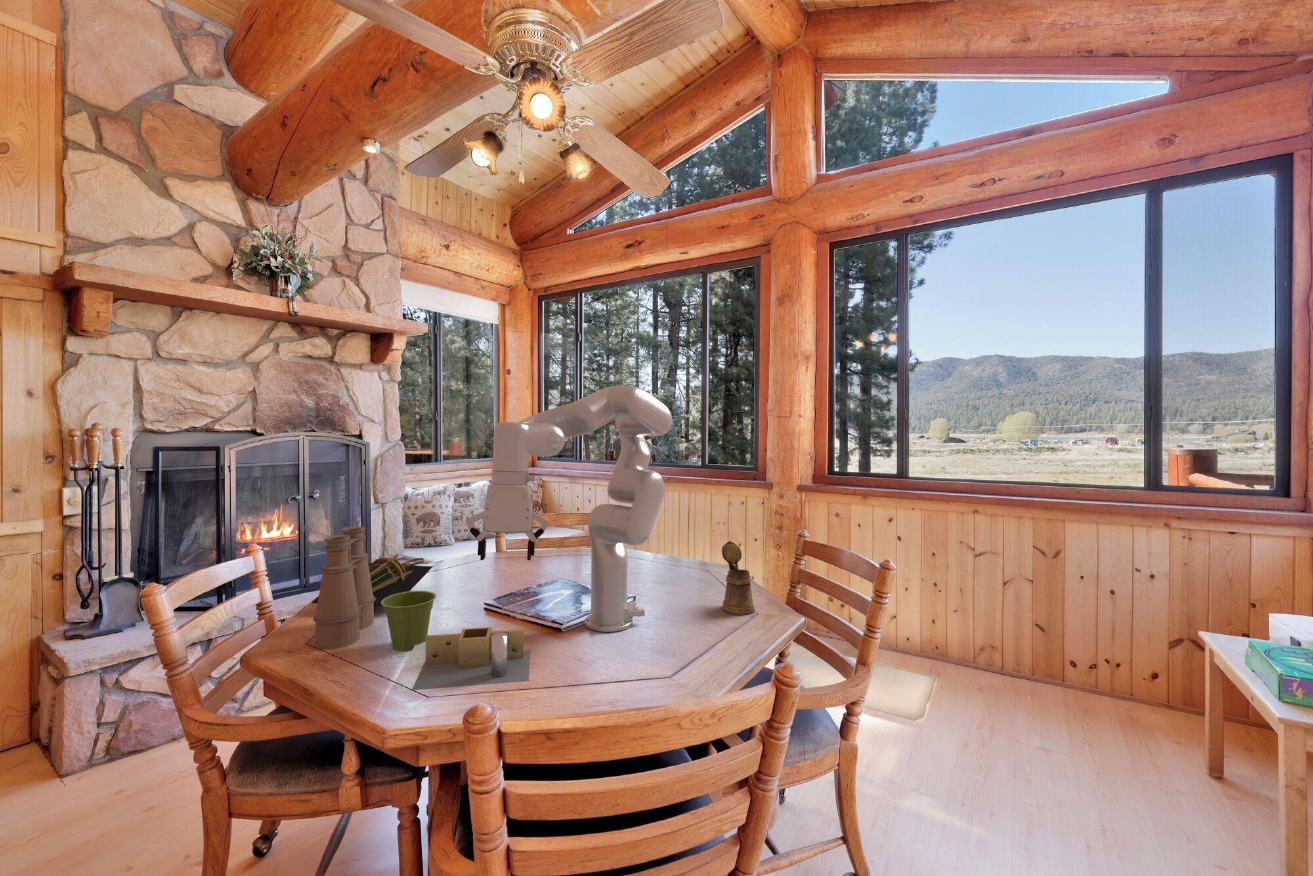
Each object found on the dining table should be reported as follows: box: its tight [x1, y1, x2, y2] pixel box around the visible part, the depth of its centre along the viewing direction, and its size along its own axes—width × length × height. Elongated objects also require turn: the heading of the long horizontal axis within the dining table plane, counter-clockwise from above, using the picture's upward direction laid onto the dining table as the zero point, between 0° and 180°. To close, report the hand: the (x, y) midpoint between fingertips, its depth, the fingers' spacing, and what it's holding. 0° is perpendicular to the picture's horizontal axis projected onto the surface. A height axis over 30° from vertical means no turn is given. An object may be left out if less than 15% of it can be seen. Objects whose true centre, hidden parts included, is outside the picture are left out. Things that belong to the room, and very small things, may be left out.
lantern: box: [310, 553, 434, 607], centre depth 164 cm, size 14×23×30 cm
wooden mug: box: [721, 540, 755, 616], centre depth 160 cm, size 9×14×18 cm, turn 11°
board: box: [411, 649, 531, 691], centre depth 116 cm, size 22×15×1 cm
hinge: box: [425, 626, 524, 668], centre depth 120 cm, size 20×6×6 cm, turn 102°
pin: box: [491, 633, 507, 678], centre depth 114 cm, size 3×3×8 cm
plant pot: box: [381, 590, 437, 652], centre depth 130 cm, size 12×12×11 cm
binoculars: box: [312, 526, 376, 650], centre depth 137 cm, size 21×10×25 cm, turn 10°
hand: (506, 559), depth 119 cm, fingers open, 9 cm apart
